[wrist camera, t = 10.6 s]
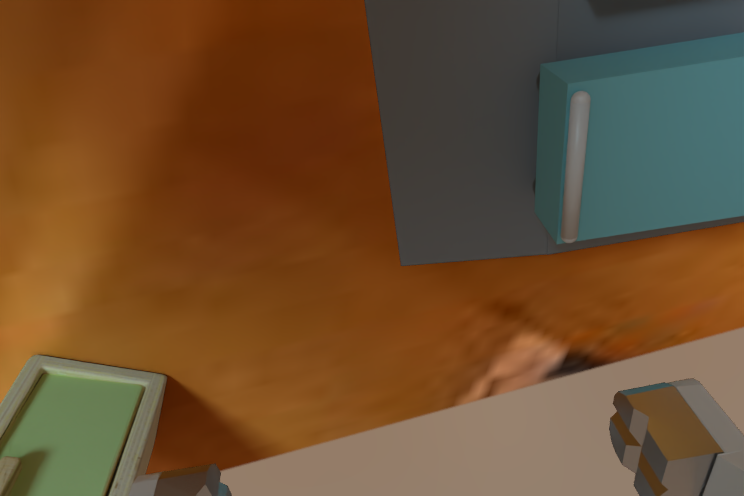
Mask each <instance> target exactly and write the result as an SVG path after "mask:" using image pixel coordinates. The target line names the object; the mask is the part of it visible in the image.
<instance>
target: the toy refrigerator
mask: <svg viewBox="0 0 744 496" xmlns="http://www.w3.org/2000/svg"><path fill="white" fill-rule="evenodd" d="M166 382H167V376H166V375H163V374H158V373H152V372H145V371H139V370H132V369H126V368H119V367H113V366H106V365H100V364H93V363H87V362H80V361H74V360H68V359H62V358H55V357H49V356H43V355H34V356H32V357H31V358H30V359H29V360H28V361H27V362H26V364H25V366H24V367H23V369H22V370H21V372H20V373H19V375H18V377H17V378H16V380H15V382H14V383H13V385H12V386H11V388H10V390H9V391H8V393H7V395H6V396H5V398H4V399H3V401H2V403H1V404H0V496H129V492H130V489H131V486H132V484H133V483H134V481H135V480H136V478H137V477H138V476H140V475H145V474H146V471H147V467H148V464H149V460H150V457H151V454H152V450H153V447H154V442H155V438H156V433H157V428H158V423H159V418H160V413H161V407H162V402H163V397H164V392H165V387H166Z"/></svg>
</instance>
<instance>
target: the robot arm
mask: <svg viewBox="0 0 744 496" xmlns="http://www.w3.org/2000/svg"><path fill="white" fill-rule="evenodd" d="M613 404H614V406H615V408H616V410H617V412H616V413H615V414H614V415H613V416H612V417H611V418H610V427H609V430H610V435H611V440H612V444H613V447H614V449H615V452H616V454H617V456H618V458H619V459H620V461H621V463H622V465H624V466H625V467H627V468H628V469H630V470H631V471H633V472H634V473H636V475H635V481H634V487H635V488H636V490H637V492H638V494H639V496H744V435H743V434H742V433H741V431H740V430H739V429H738V428H737V427H736V425H735V424H734V423H733V422H732V420H731V419H730V418H729V417H728V416H727V415H726V413H725V412H724V411H723V410H722V409H721V407H720V406H719V405H718V404H717V402H716V401H715V400H714V399H713V397H712V396H711V395H710V394H709V393H708V391H707V390H706V389H705V388H704V387H703V385H702V384H701V383H700V382H699V381H697V380H695V379H693V378H692V379H685V380H679V381H674V382H670V383H659V384H654V385H649V386H644V387H639V388H633V389H628V390H623V391H618V392H617V393H616V394H615V396H614V401H613ZM220 475H221V472H220V471H219V469H218V467H217V466H216V464H209V465H203V466H196V467H190V468H184V469H177V470H171V471H163V472H158V473H152V474H146V475H140V476H138V477H137V478H136V480H135V481H134V483H133V484H132V486H131V489H130V492H129V496H232V495H231V492H230V490H229V488H228V486H227V485H225V484H223V483H220Z"/></svg>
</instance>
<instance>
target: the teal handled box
mask: <svg viewBox="0 0 744 496" xmlns="http://www.w3.org/2000/svg"><path fill="white" fill-rule="evenodd" d="M536 85H537V89H538V91H539V112H538V136H537V161H536V178H535V179H534V181H533V185H532V189H533V192H534V194H535V210H534V212H535V214H536V215H537V216H538V218H539V219H540V221H541V222H542V224H543V225H544V227H545V228H546V230H547V231H548V232H549V234H550V235H551V237H552V238H553V240H554V241H555V243H556V244H562V243H572V242H575V241H582V240H588V239H595V238H601V237H608V236H614V235H621V234H627V233H634V232H641V231H647V230H654V229H660V228H667V227H673V226H680V225H686V224H693V223H699V222H706V221H712V220H719V219H725V218H732V217H739V216H744V32H743V33H736V34H730V35H723V36H717V37H711V38H704V39H698V40H691V41H685V42H679V43H672V44H666V45H659V46H653V47H647V48H640V49H634V50H627V51H621V52H615V53H608V54H602V55H595V56H589V57H583V58H576V59H570V60H563V61H557V62H551V63H544V64H540V72H539V74H538V76H537V79H536Z"/></svg>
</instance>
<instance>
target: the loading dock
mask: <svg viewBox="0 0 744 496" xmlns="http://www.w3.org/2000/svg"><path fill="white" fill-rule="evenodd" d="M364 1H365V8H366V16H367V23H368V30H369V37H370V45H371V52H372V59H373V66H374V74H375V81H376V88H377V95H378V102H379V110H380V117H381V124H382V131H383V139H384V146H385V153H386V160H387V168H388V175H389V182H390V189H391V197H392V204H393V211H394V218H395V226H396V233H397V240H398V247H399V255H400V262H401V266H407V265H420V264H432V263H445V262H457V261H470V260H482V259H494V258H507V257H519V256H532V255H544V254H547V255H549V254H555V253H561V252H567V251H573V250H578V249H584V248H590V247H596V246H602V245H608V244H614V243H620V242H626V241H632V240H638V239H644V238H650V237H656V236H662V235H668V234H674V233H680V232H686V231H692V230H698V229H703V228H709V227H715V226H721V225H727V224H733V223H739V222H744V216H739V217H732V218H725V219H719V220H712V221H706V222H699V223H693V224H686V225H680V226H673V227H667V228H660V229H654V230H647V231H641V232H634V233H627V234H621V235H614V236H608V237H601V238H595V239H588V240H582V241H575V242H572V243H562V244H556V243H555V241H554V240H553V238H552V237H551V235H550V234H549V232H548V231H547V230H546V228H545V227H544V225H543V224H542V222H541V221H540V219H539V218H538V216H537V215H536V214H535V212H534V210H535V194H534V192H533V189H532V185H533V181H534V179H535V178H536V161H537V136H538V112H539V91H538V89H537V85H536V79H537V76H538V74H539V72H540V64H544V63H551V62H557V61H563V60H570V59H576V58H583V57H589V56H595V55H602V54H608V53H615V52H621V51H627V50H634V49H640V48H647V47H653V46H659V45H666V44H672V43H679V42H685V41H691V40H698V39H704V38H711V37H717V36H723V35H730V34H736V33H743V32H744V0H364Z"/></svg>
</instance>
